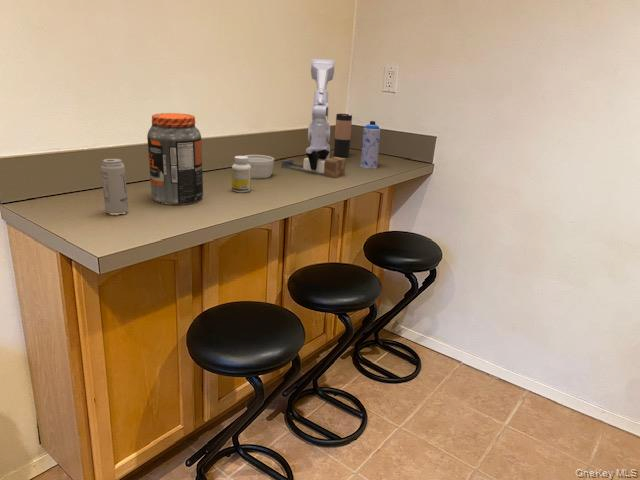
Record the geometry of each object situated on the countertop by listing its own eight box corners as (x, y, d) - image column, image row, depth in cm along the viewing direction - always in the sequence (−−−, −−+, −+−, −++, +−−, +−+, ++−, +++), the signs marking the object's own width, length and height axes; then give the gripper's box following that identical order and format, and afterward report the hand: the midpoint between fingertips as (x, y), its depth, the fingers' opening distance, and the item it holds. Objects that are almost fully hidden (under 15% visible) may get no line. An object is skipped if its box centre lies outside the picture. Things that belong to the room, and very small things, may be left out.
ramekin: (252, 181, 180) (252, 162, 178) (233, 174, 190) (232, 156, 187) (280, 177, 189) (280, 159, 186) (261, 170, 198) (261, 153, 196)
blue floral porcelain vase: (361, 164, 222) (365, 119, 215) (378, 165, 220) (383, 121, 213) (358, 167, 215) (362, 121, 208) (375, 169, 213) (380, 122, 206)
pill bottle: (243, 187, 171) (243, 154, 167) (254, 191, 167) (255, 157, 163) (228, 189, 167) (227, 156, 163) (239, 194, 163) (239, 159, 159)
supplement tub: (149, 193, 157) (144, 111, 148) (199, 191, 163) (196, 112, 154) (153, 207, 143) (147, 118, 134) (207, 204, 149) (205, 119, 140)
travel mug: (332, 157, 233) (335, 114, 226) (334, 154, 241) (337, 113, 234) (348, 158, 232) (351, 115, 225) (349, 155, 240) (353, 114, 233)
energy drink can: (127, 215, 135) (123, 162, 130) (104, 216, 133) (98, 162, 128) (129, 209, 140) (125, 158, 135) (106, 210, 139) (101, 158, 133)
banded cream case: (309, 168, 205) (310, 156, 204) (337, 174, 198) (338, 162, 197) (303, 170, 202) (303, 158, 200) (331, 176, 195) (332, 163, 193)
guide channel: (291, 164, 212) (291, 158, 211) (333, 173, 201) (334, 167, 200) (281, 167, 206) (281, 161, 205) (324, 175, 195) (324, 169, 194)
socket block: (334, 172, 201) (335, 156, 199) (344, 175, 199) (345, 158, 196) (323, 176, 195) (324, 159, 192) (334, 178, 192) (335, 161, 190)
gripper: (317, 138, 188) (315, 172, 193) (336, 135, 199) (334, 167, 204) (302, 136, 191) (300, 170, 196) (322, 133, 203) (320, 165, 208)
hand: (317, 168), depth 200 cm, fingers open, 5 cm apart
